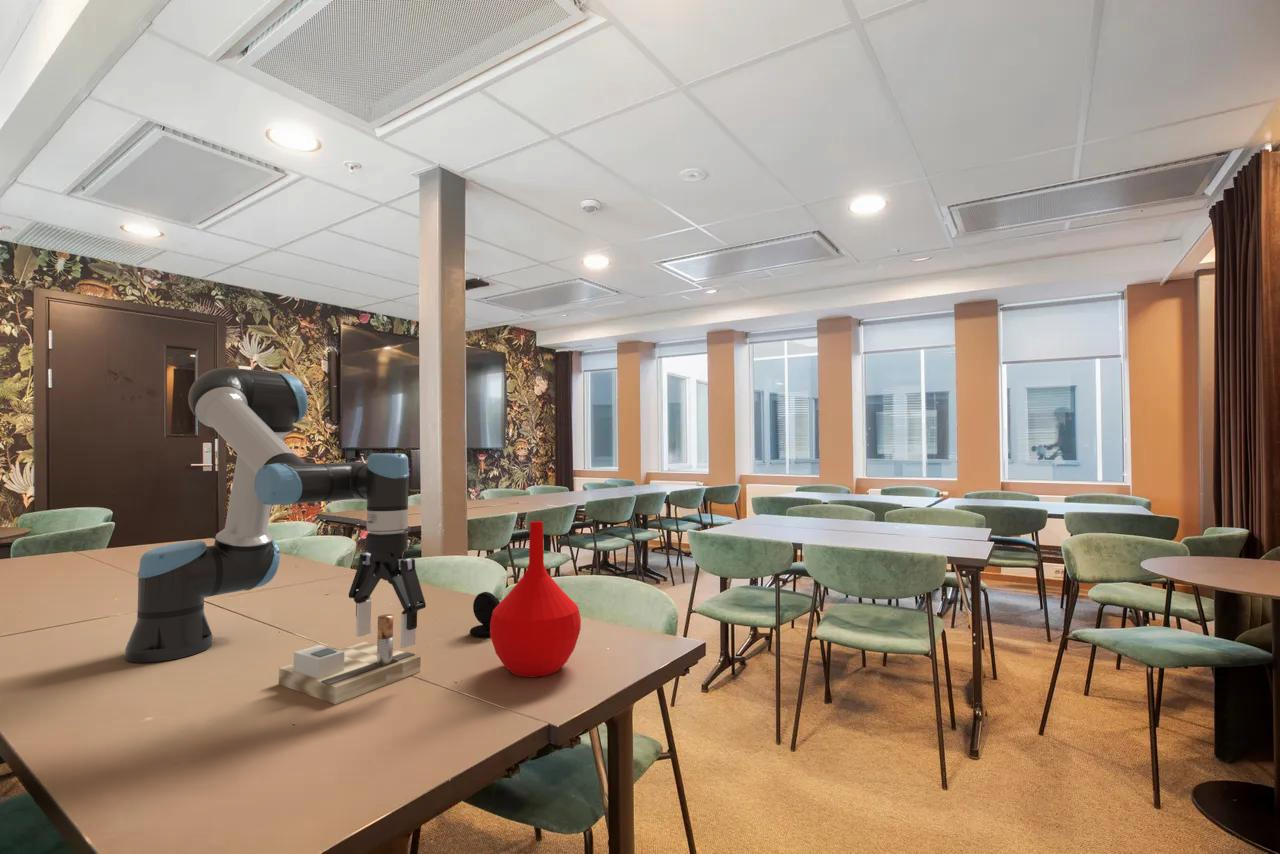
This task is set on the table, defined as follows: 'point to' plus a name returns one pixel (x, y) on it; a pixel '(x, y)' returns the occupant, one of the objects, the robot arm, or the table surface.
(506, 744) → the table surface
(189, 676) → the table surface
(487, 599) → the webcam
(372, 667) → the panel
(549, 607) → the vase
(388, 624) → the silver and copper cylinder
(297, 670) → the block
